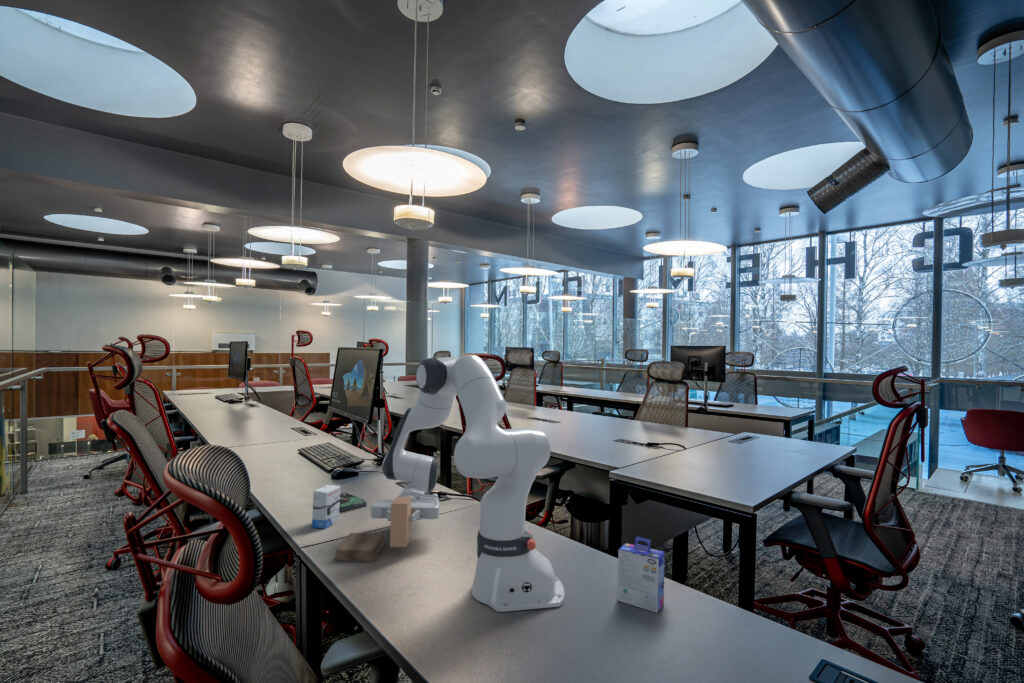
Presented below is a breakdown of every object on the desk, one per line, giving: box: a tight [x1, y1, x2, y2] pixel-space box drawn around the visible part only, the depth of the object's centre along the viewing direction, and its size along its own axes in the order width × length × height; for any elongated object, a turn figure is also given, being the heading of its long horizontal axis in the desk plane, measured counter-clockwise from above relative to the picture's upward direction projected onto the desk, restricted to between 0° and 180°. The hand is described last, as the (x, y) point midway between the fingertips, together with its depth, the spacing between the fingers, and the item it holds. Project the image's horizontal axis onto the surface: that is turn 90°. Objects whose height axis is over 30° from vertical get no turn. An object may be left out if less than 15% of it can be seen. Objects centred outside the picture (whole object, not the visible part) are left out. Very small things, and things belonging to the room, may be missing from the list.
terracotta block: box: [389, 496, 412, 548], centre depth 134 cm, size 4×6×12 cm
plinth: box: [335, 532, 385, 562], centre depth 134 cm, size 10×12×3 cm
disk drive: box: [339, 492, 367, 514], centre depth 174 cm, size 10×3×15 cm
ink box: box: [311, 484, 341, 530], centre depth 155 cm, size 8×5×12 cm, turn 168°
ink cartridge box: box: [616, 536, 666, 613], centre depth 110 cm, size 10×6×14 cm, turn 58°
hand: (400, 518), depth 134 cm, fingers closed on terracotta block, 4 cm apart
